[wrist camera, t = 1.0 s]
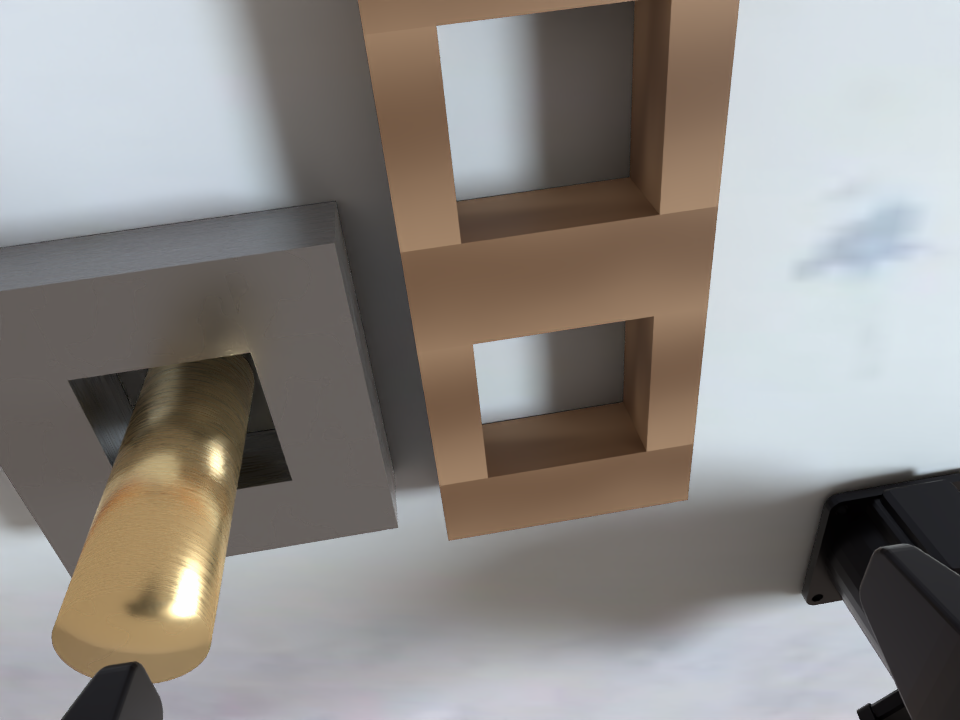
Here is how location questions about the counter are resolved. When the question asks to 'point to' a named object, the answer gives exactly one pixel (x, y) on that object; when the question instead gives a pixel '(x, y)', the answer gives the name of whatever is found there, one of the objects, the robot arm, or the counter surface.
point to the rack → (560, 266)
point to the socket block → (192, 337)
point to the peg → (161, 526)
